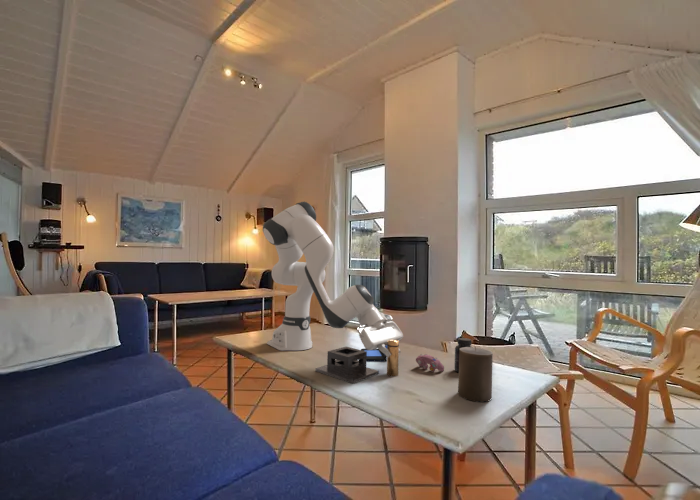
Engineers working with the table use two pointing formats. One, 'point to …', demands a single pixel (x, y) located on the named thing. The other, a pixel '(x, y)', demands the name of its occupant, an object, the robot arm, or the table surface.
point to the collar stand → (347, 365)
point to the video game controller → (429, 362)
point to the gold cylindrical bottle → (393, 357)
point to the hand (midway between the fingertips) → (394, 354)
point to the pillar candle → (475, 374)
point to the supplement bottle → (461, 343)
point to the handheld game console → (375, 355)
